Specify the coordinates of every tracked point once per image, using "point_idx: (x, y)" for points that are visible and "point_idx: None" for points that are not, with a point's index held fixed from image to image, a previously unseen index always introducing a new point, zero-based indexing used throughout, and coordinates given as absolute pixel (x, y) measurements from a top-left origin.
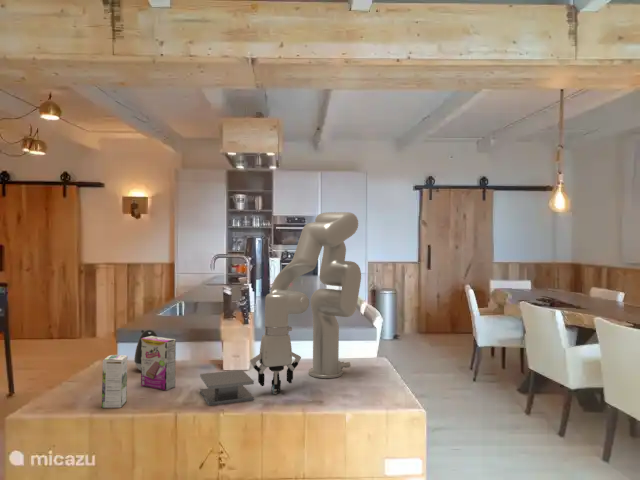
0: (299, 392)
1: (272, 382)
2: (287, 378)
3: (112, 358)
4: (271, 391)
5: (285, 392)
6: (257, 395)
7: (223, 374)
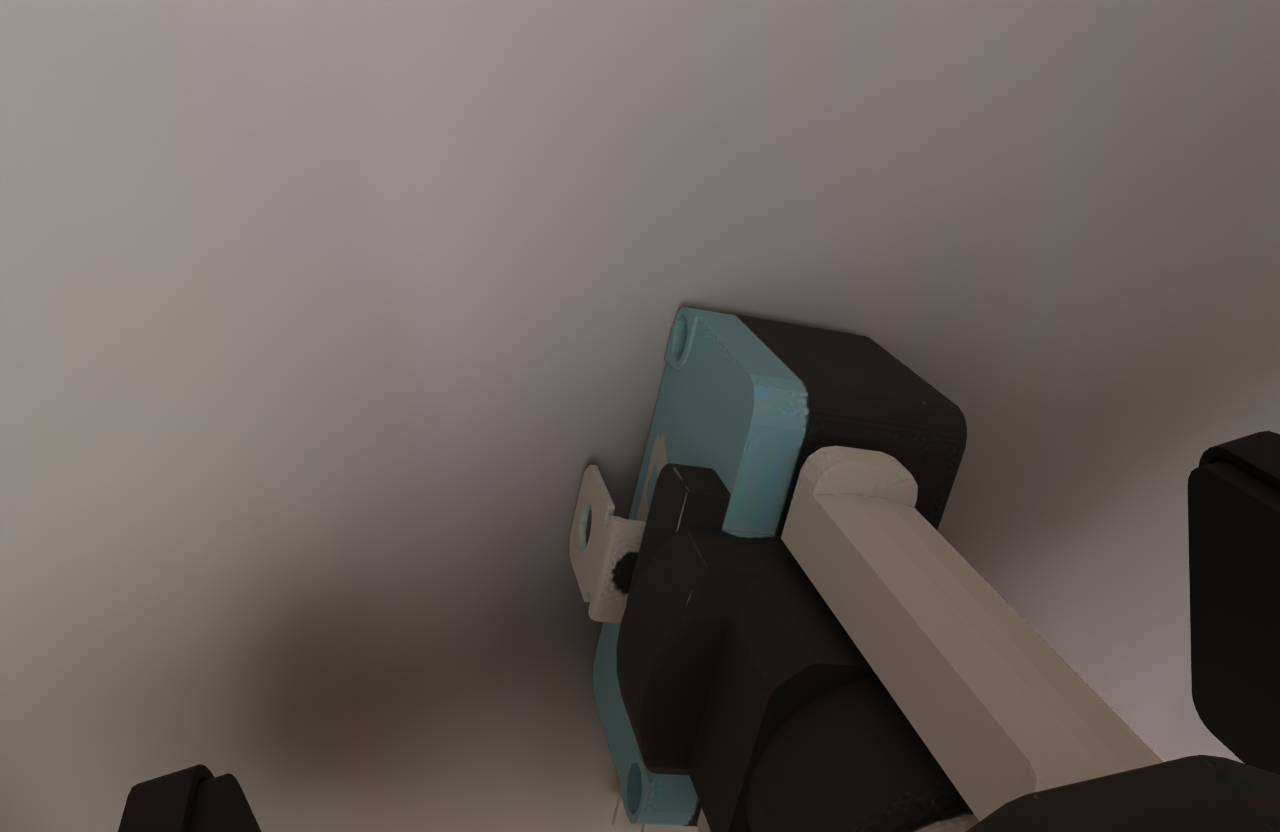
0: None
1: (656, 773)
2: (1264, 588)
3: None
4: (570, 535)
5: None
6: None
7: None
